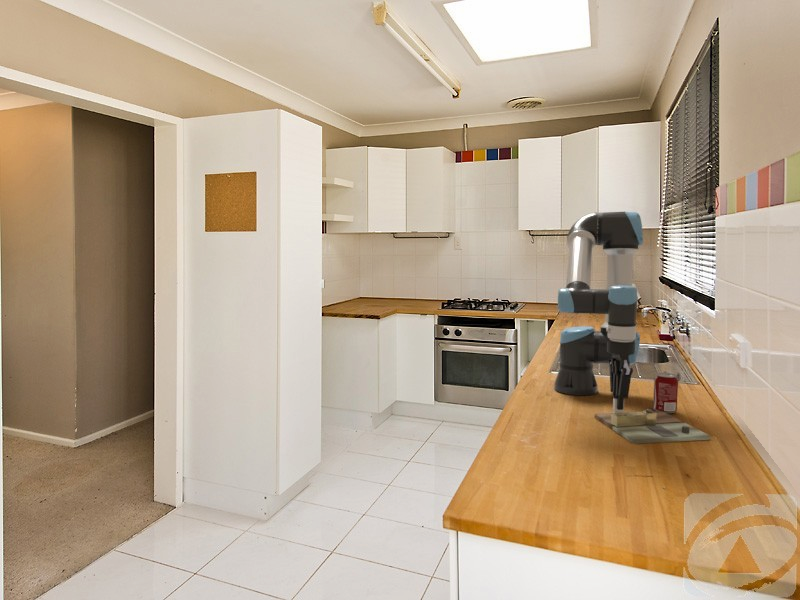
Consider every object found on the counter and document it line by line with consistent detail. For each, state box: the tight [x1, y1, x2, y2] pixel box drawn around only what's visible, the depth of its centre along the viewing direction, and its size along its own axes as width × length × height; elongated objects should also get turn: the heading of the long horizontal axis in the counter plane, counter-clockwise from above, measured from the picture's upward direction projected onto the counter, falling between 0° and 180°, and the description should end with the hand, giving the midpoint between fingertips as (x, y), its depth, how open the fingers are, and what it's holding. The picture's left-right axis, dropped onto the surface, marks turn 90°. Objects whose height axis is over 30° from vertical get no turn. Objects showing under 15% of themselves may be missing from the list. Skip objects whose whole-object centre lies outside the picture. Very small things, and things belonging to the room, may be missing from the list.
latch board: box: [594, 410, 711, 444], centre depth 154 cm, size 22×22×3 cm
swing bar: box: [610, 408, 657, 427], centre depth 153 cm, size 13×4×4 cm, turn 100°
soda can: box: [652, 372, 679, 415], centre depth 169 cm, size 7×7×12 cm
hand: (618, 419), depth 155 cm, fingers closed
